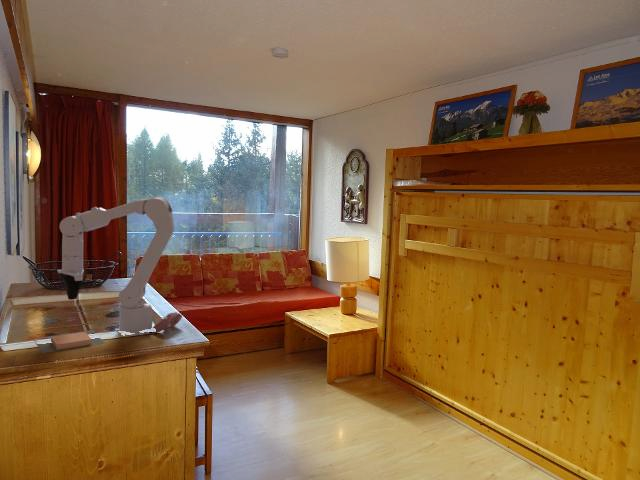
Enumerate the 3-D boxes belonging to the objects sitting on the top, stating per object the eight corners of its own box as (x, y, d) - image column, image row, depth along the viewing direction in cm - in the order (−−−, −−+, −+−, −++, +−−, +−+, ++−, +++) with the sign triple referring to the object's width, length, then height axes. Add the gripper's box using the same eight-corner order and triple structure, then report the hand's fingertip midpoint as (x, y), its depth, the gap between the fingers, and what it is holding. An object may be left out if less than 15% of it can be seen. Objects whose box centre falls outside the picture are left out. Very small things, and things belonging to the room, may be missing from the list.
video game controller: (160, 339, 148) (170, 321, 147) (149, 331, 149) (159, 313, 147) (177, 330, 158) (186, 313, 156) (167, 322, 158) (176, 306, 157)
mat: (92, 331, 146) (92, 330, 146) (105, 344, 136) (105, 343, 136) (33, 340, 135) (33, 338, 135) (42, 355, 125) (42, 353, 125)
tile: (84, 332, 139) (91, 339, 134) (84, 337, 139) (91, 344, 134) (50, 336, 133) (56, 344, 128) (50, 342, 133) (56, 350, 128)
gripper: (52, 252, 144) (52, 294, 146) (64, 260, 133) (63, 306, 135) (77, 251, 149) (76, 292, 151) (90, 259, 138) (89, 303, 140)
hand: (72, 298), depth 143 cm, fingers closed
